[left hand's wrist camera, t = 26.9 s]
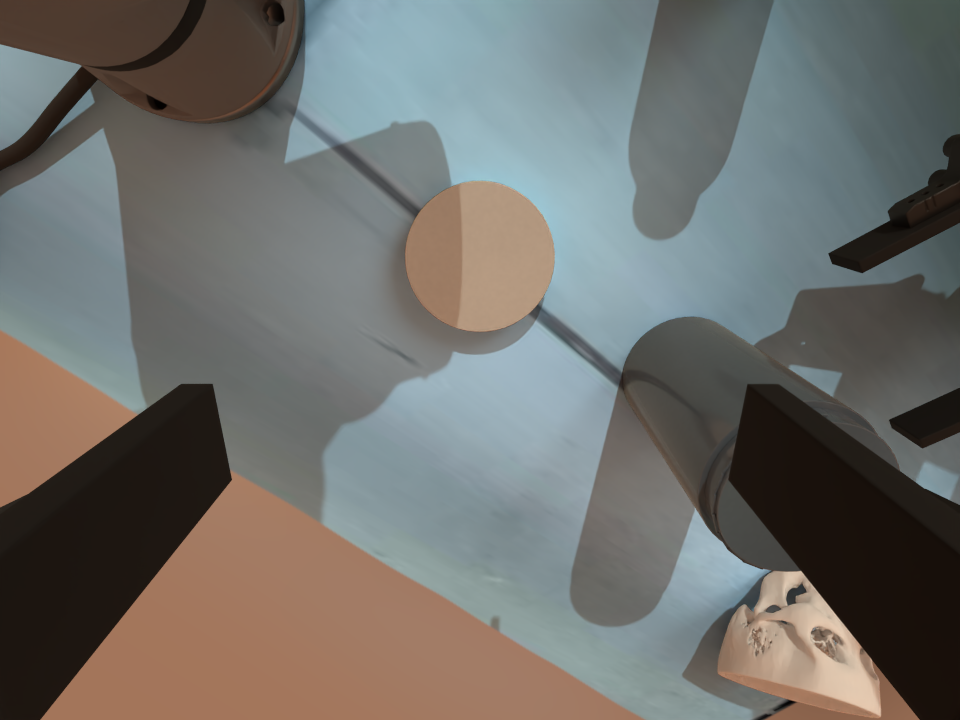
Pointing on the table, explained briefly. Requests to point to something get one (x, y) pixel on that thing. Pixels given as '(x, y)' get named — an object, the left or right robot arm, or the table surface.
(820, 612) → the skull bowl
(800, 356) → the table surface
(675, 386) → the jar
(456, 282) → the lid
